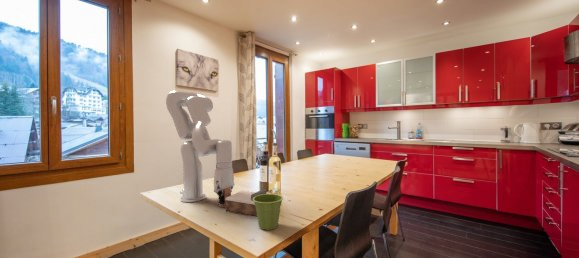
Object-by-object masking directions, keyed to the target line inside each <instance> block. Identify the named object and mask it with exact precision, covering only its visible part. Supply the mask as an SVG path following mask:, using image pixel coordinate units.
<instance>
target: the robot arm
mask: <svg viewBox="0 0 579 258" xmlns="http://www.w3.org/2000/svg"><path fill="white" fill-rule="evenodd" d="M165 104H166V109H167V111H168V113H169V115H170V116H171V119H172V120H173V123H174V126H175V130H176V132H177V135H178V137H179V138H180V139H181V140H184V141H185V142H183V143H182V144H181V147H180V154H181V158H182V167H183V168H182V170H183V173H182V174H183V176H182V177H183V189H182V190H181V191H179V194H182V196H181V197H180V201H181V202H183V203H193V202H194V203H195V202H199V201H202V200H205V199H206V197H207V195H206V194H205V193H204V192H203V191H204V190H203V165H202V162H201V160H200V158H202V157H203V158H204V157H208V156H212V155H215V159H216V161H215V162H216V163H215V164H216V165H215V167H216V168H215V169H214V175H213V192H214V193H215V194H216V195H217V196H218V204H219V203H220V204H224V203H225V197H224V196H223V195H224V189H226V188H228V187H231V193H232V192H233V191H232V190H233V189H234V187H235V179H234V178H235V177H234V176H235V175H234V174H235V173H234V168H233V146H232V145H233V144H232V143H233V142H232V141H231V140H229V139H224V140H222V139H211V137H210V135H209V131H208V130H207V129H208V128H207V126H208V125H209V124H210V123H211V121H212V119H211V117H210V114H209V113H210V112H212V110H213V108H214V104H213V101H212V99H211V98H210V97H209V96H206V95H202V94H200V93H197V92H194V91H193V92H191V91H184V90H172V91H170V92H168V93H167V95H166V99H165ZM183 107H186V108H187V110H188V112H187V110H185V109H184V108H183ZM188 113H189V114H188ZM220 190H221V192H220Z"/></svg>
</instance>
